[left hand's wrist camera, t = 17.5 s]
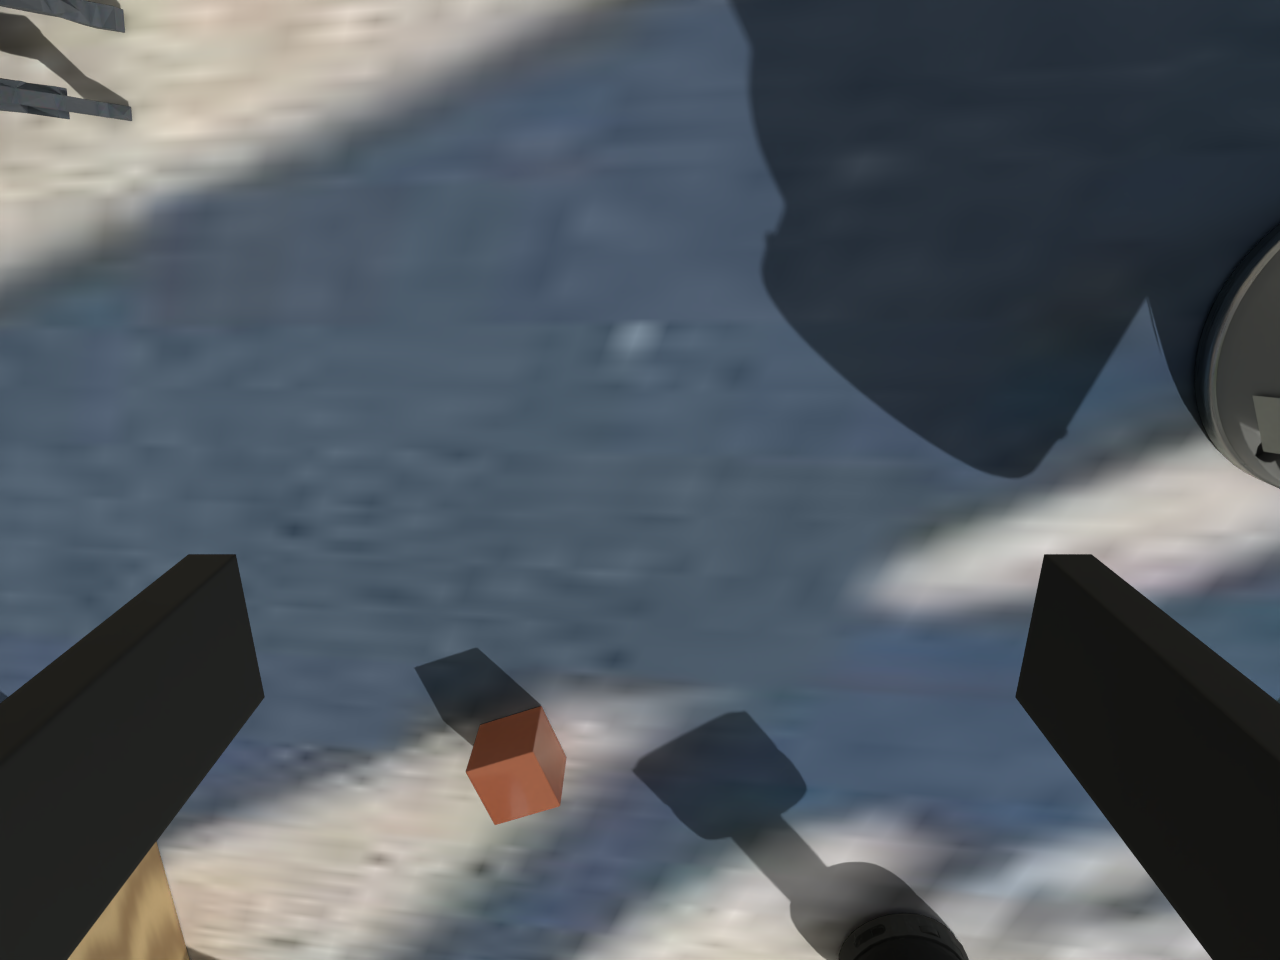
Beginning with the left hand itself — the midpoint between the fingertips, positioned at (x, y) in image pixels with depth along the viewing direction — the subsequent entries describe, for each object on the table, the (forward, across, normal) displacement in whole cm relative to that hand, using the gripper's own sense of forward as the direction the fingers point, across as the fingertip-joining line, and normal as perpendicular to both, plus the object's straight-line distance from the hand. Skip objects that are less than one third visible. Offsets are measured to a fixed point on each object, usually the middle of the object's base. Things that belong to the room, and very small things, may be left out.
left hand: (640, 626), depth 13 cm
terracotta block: (+27, +7, +24) cm, 37 cm away
